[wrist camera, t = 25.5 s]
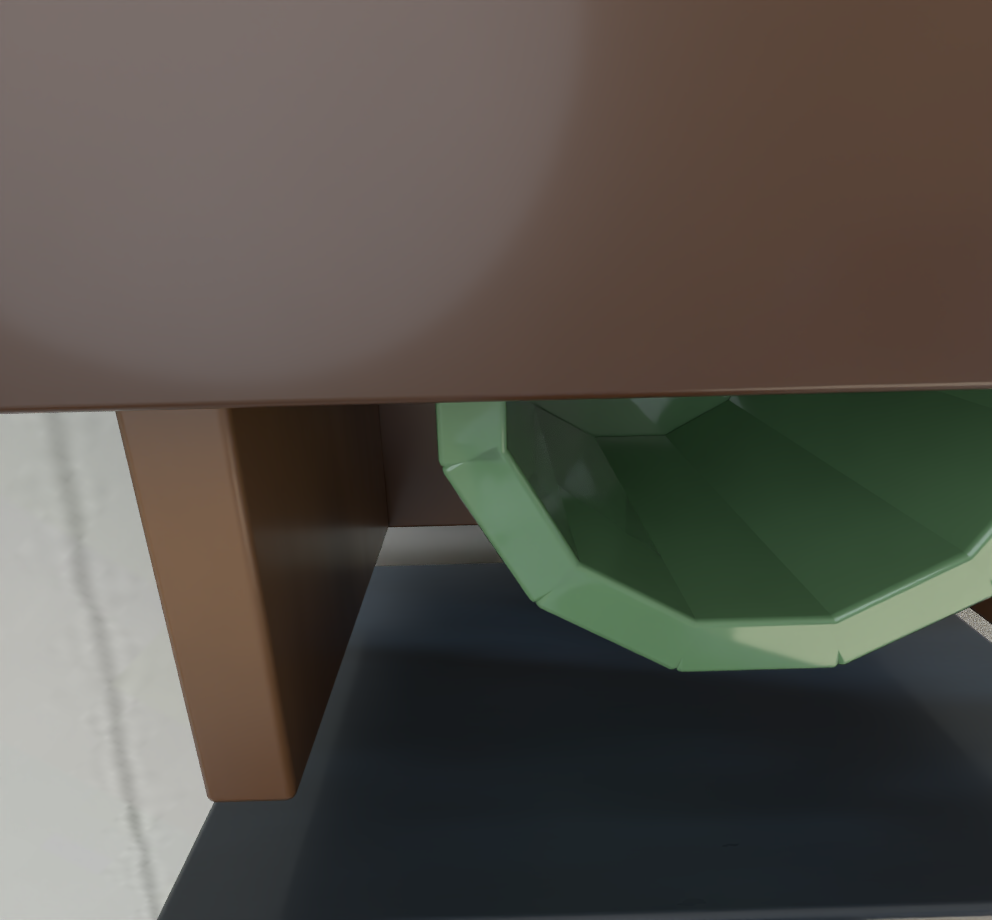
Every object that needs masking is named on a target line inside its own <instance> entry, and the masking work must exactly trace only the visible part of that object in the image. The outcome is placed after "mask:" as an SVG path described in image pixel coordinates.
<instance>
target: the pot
mask: <svg viewBox="0 0 992 920" xmlns="http://www.w3.org/2000/svg"><path fill="white" fill-rule="evenodd" d="M435 418H436V435H437V453H438V461H439V463H440V465H441V466H442V471H443V474H444V476H445V477H446V479H447V480H448V481H449V483H450V484H451V486H452V487H453V489H454V490H455V492H456V493H457V495H458V496H459V498H460V499H461V500H462V502H463V503H464V505H465V506H466V508H467V509H468V511H469V512H470V514H471V515H472V517H473V518H474V520H475V521H476V522H477V524H478V525H479V527H480V528H481V530H482V531H483V533H484V534H485V536H486V537H487V539H488V540H489V541H490V543H491V544H492V546H493V547H494V549H495V550H496V552H497V553H498V555H499V556H500V558H501V559H502V561H503V562H504V563H505V565H506V566H507V568H508V569H509V571H510V572H511V574H512V575H513V577H514V578H515V580H516V581H517V582H518V584H519V585H520V587H521V588H522V590H523V591H524V593H525V594H526V596H527V597H528V598H529V599H530V600H531V601H533V602H535V603H536V604H537V606H538V607H540V608H541V609H543V610H545V611H547V612H549V613H552V614H554V615H556V616H558V617H560V618H562V619H564V620H566V621H569V622H571V623H573V624H575V625H577V626H579V627H581V628H583V629H586V630H588V631H590V632H592V633H594V634H596V635H598V636H600V637H602V638H605V639H607V640H609V641H611V642H613V643H615V644H617V645H619V646H622V647H624V648H626V649H628V650H630V651H632V652H634V653H636V654H639V655H641V656H643V657H645V658H647V659H649V660H651V661H653V662H656V663H658V664H660V665H662V666H664V667H666V668H668V669H672V670H674V669H677V670H678V671H680V672H707V671H743V670H779V669H815V668H834V667H837V665H838V664H840V665H846V664H848V663H850V662H852V661H854V660H857V659H859V658H861V657H863V656H865V655H867V654H870V653H872V652H874V651H876V650H878V649H880V648H883V647H885V646H887V645H889V644H891V643H893V642H895V641H898V640H900V639H902V638H904V637H906V636H908V635H911V634H913V633H915V632H917V631H919V630H921V629H924V628H926V627H928V626H930V625H932V624H934V623H937V622H939V621H941V620H943V619H945V618H947V617H949V616H952V615H954V614H956V613H958V612H960V611H962V610H965V609H967V608H969V607H971V606H973V605H975V604H978V603H980V602H982V601H984V600H986V599H988V598H991V597H992V389H986V390H946V391H905V392H865V393H825V394H784V395H744V396H704V397H663V398H623V399H583V400H542V401H502V402H462V403H435Z"/></svg>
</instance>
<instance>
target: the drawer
mask: <svg viewBox="0 0 992 920" xmlns="http://www.w3.org/2000/svg"><path fill="white" fill-rule="evenodd" d="M115 412H116V416H117V420H118V424H119V429H120V433H121V437H122V441H123V445H124V450H125V454H126V458H127V462H128V466H129V470H130V475H131V479H132V483H133V487H134V491H135V496H136V500H137V504H138V508H139V512H140V517H141V521H142V525H143V529H144V533H145V537H146V542H147V546H148V550H149V554H150V558H151V563H152V567H153V571H154V575H155V579H156V584H157V588H158V592H159V596H160V600H161V604H162V609H163V613H164V617H165V621H166V625H167V630H168V634H169V638H170V642H171V646H172V651H173V655H174V659H175V663H176V667H177V671H178V676H179V680H180V684H181V688H182V692H183V697H184V701H185V705H186V709H187V713H188V717H189V722H190V726H191V730H192V734H193V738H194V743H195V747H196V751H197V755H198V759H199V764H200V768H201V772H202V776H203V780H204V784H205V789H206V793H207V797H208V798H209V799H210V800H211V801H214V804H213V806H212V808H211V810H210V812H209V814H208V816H207V818H206V820H205V822H204V824H203V826H202V828H201V830H200V832H199V835H198V837H197V839H196V841H195V843H194V845H193V847H192V849H191V851H190V853H189V855H188V857H187V859H186V861H185V863H184V865H183V867H182V869H181V872H180V874H179V876H178V878H177V880H176V882H175V884H174V886H173V888H172V890H171V892H170V894H169V896H168V898H167V900H166V902H165V904H164V906H163V909H162V911H161V913H160V915H159V917H158V919H157V920H992V643H991V642H990V641H989V640H988V639H986V638H985V637H984V636H983V635H981V634H980V633H979V632H978V631H976V630H975V629H974V628H973V627H971V626H970V625H969V624H967V623H966V622H965V621H964V620H962V619H961V618H960V617H959V616H957V615H956V614H954V615H952V616H949V617H947V618H945V619H943V620H941V621H939V622H937V623H934V624H932V625H930V626H928V627H926V628H924V629H921V630H919V631H917V632H915V633H913V634H911V635H908V636H906V637H904V638H902V639H900V640H898V641H895V642H893V643H891V644H889V645H887V646H885V647H883V648H880V649H878V650H876V651H874V652H872V653H870V654H867V655H865V656H863V657H861V658H859V659H857V660H854V661H852V662H850V663H848V664H846V665H840V664H838V665H837V667H834V668H815V669H779V670H743V671H707V672H680V671H678V670H677V669H674V670H672V669H668V668H666V667H664V666H662V665H660V664H658V663H656V662H653V661H651V660H649V659H647V658H645V657H643V656H641V655H639V654H636V653H634V652H632V651H630V650H628V649H626V648H624V647H622V646H619V645H617V644H615V643H613V642H611V641H609V640H607V639H605V638H602V637H600V636H598V635H596V634H594V633H592V632H590V631H588V630H586V629H583V628H581V627H579V626H577V625H575V624H573V623H571V622H569V621H566V620H564V619H562V618H560V617H558V616H556V615H554V614H552V613H549V612H547V611H545V610H543V609H541V608H540V607H538V606H537V604H536V603H535V602H533V601H531V600H530V599H529V598H528V597H527V596H526V594H525V593H524V591H523V590H522V588H521V587H520V585H519V584H518V582H517V581H516V580H515V578H514V577H513V575H512V574H511V572H510V571H509V569H508V568H507V566H506V565H505V563H476V564H438V565H401V566H375V564H376V561H377V559H378V556H379V553H380V550H381V547H382V544H383V541H384V538H385V535H386V532H387V530H388V527H418V526H457V525H478V524H477V522H476V521H475V520H474V518H473V517H472V515H471V514H470V512H469V511H468V509H467V508H466V506H465V505H464V503H463V502H462V500H461V499H460V498H459V496H458V495H457V493H456V492H455V490H454V489H453V487H452V486H451V484H450V483H449V481H448V480H447V479H446V477H445V476H444V474H443V471H442V466H441V465H440V463H439V461H438V453H437V435H436V418H435V403H421V404H381V405H341V406H300V407H260V408H220V409H179V410H139V411H115ZM970 608H971V609H972V610H974V611H975V612H976V613H978V614H979V615H980V616H982V617H983V618H984V619H985V620H987V621H988V622H989V623H991V624H992V597H991V598H988V599H986V600H984V601H982V602H980V603H978V604H975V605H973V606H971V607H970Z"/></svg>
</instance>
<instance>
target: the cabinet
mask: <svg viewBox="0 0 992 920" xmlns="http://www.w3.org/2000/svg"><path fill="white" fill-rule="evenodd" d="M986 389H992V0H0V414H18V413H58V412H99V411H139V410H179V409H220V408H260V407H300V406H341V405H381V404H421V403H462V402H502V401H542V400H583V399H623V398H663V397H704V396H744V395H784V394H825V393H865V392H905V391H946V390H986Z"/></svg>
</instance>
